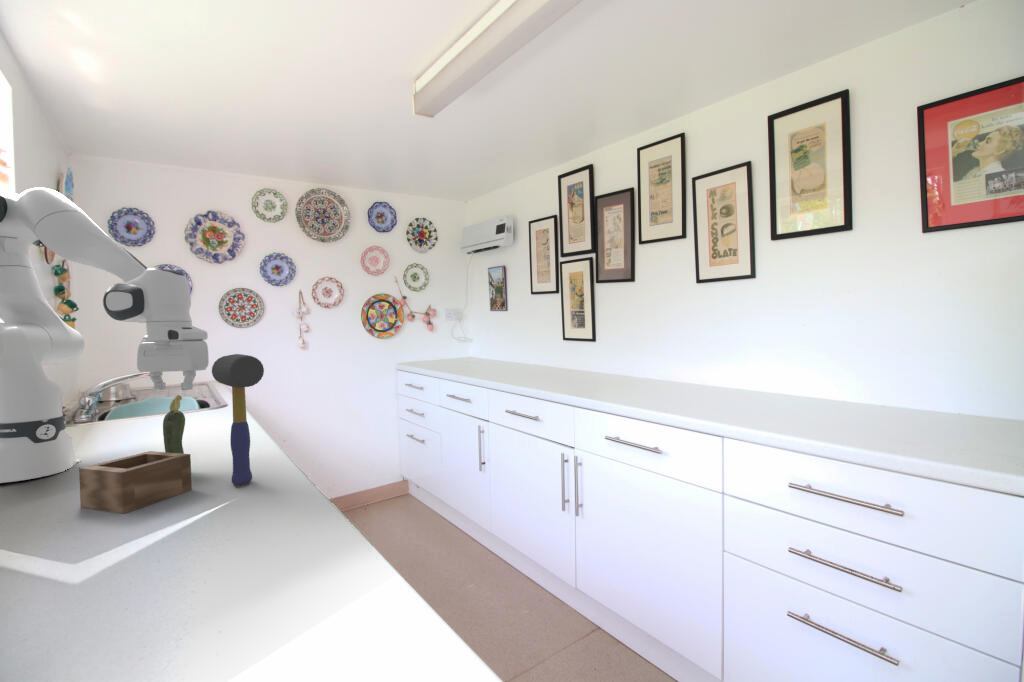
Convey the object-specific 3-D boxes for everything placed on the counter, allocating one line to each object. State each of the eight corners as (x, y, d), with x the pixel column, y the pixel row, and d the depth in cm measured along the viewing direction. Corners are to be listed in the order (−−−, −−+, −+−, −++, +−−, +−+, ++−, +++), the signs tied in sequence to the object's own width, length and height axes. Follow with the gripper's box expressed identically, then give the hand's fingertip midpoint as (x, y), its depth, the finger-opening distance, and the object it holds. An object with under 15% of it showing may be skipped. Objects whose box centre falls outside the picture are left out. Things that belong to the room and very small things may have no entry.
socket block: (80, 507, 87) (78, 468, 87) (151, 485, 99) (150, 451, 99) (123, 513, 83) (121, 472, 83) (191, 489, 95) (190, 454, 95)
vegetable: (167, 479, 103) (164, 397, 103) (162, 476, 106) (159, 396, 105) (190, 474, 106) (186, 394, 106) (184, 471, 109) (181, 393, 109)
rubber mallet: (271, 486, 96) (266, 353, 95) (233, 497, 90) (228, 355, 89) (249, 476, 104) (244, 353, 103) (213, 485, 98) (208, 354, 97)
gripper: (127, 335, 106) (130, 391, 106) (186, 332, 99) (189, 391, 100) (155, 335, 112) (158, 388, 112) (212, 332, 105) (215, 387, 106)
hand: (173, 389), depth 106 cm, fingers open, 8 cm apart
